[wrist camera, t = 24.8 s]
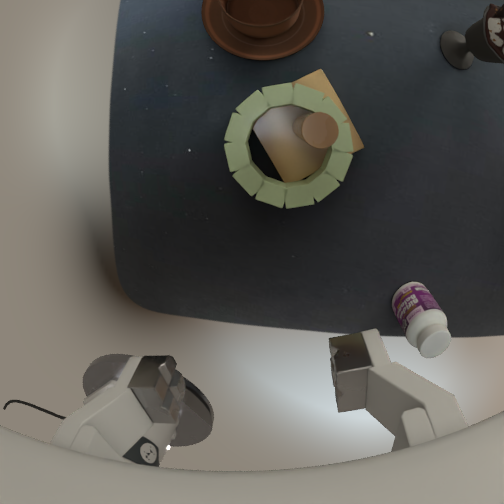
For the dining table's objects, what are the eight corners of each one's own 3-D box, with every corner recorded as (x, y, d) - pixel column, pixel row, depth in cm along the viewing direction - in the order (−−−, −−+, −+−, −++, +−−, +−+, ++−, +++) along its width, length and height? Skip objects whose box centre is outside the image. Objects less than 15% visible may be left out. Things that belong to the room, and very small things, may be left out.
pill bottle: (399, 277, 35) (428, 323, 27) (432, 283, 35) (464, 326, 27) (384, 312, 38) (406, 362, 29) (416, 316, 38) (442, 363, 29)
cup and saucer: (188, -5, 24) (171, -26, 18) (290, -42, 21) (292, -69, 15) (233, 81, 28) (223, 72, 22) (340, 42, 25) (354, 26, 20)
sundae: (472, 86, 25) (561, 86, 11) (428, 56, 24) (512, 34, 11) (482, 45, 22) (565, 31, 8) (439, 14, 22) (516, -20, 8)
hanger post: (286, 184, 32) (292, 221, 21) (242, 110, 29) (221, 104, 18) (360, 146, 30) (407, 162, 18) (319, 70, 27) (345, 42, 15)
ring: (242, 209, 32) (240, 217, 30) (217, 100, 28) (212, 98, 25) (353, 191, 30) (359, 197, 28) (334, 79, 26) (340, 76, 24)
